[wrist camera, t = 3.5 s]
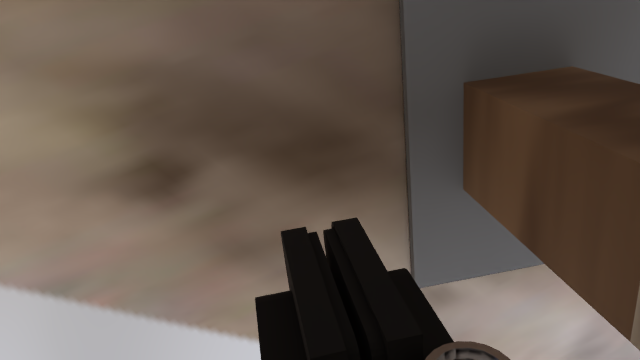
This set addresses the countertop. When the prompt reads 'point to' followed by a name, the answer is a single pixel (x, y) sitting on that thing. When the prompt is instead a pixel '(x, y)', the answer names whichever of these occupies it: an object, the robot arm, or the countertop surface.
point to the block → (564, 177)
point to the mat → (448, 109)
